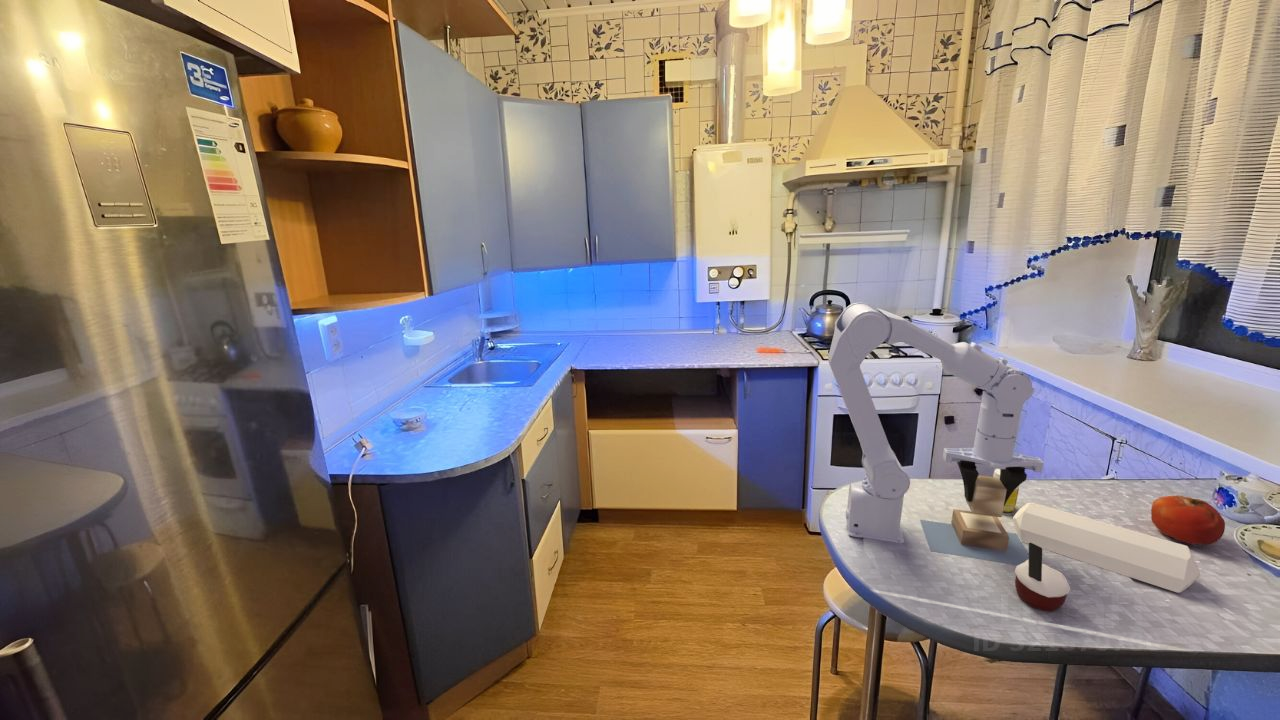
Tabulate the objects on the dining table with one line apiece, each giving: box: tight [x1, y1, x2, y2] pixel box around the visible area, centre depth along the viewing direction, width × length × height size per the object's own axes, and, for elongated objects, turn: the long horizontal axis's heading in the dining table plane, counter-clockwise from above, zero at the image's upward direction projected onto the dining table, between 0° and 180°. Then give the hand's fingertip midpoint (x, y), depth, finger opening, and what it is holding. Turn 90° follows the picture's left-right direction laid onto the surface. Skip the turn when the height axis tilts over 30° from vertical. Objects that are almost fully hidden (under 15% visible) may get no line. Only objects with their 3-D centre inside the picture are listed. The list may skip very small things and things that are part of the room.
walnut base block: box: [950, 508, 1009, 551], centre depth 91 cm, size 7×7×3 cm
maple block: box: [965, 474, 1007, 518], centre depth 89 cm, size 4×4×6 cm
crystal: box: [1012, 502, 1201, 594], centre depth 86 cm, size 7×7×24 cm
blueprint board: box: [919, 519, 1029, 566], centre depth 90 cm, size 16×10×1 cm, turn 71°
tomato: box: [1150, 494, 1226, 546], centre depth 90 cm, size 9×9×8 cm
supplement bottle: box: [992, 468, 1020, 516], centre depth 99 cm, size 5×5×8 cm
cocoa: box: [1014, 543, 1071, 612], centre depth 75 cm, size 10×6×12 cm, turn 97°
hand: (983, 501), depth 90 cm, fingers closed on maple block, 4 cm apart
